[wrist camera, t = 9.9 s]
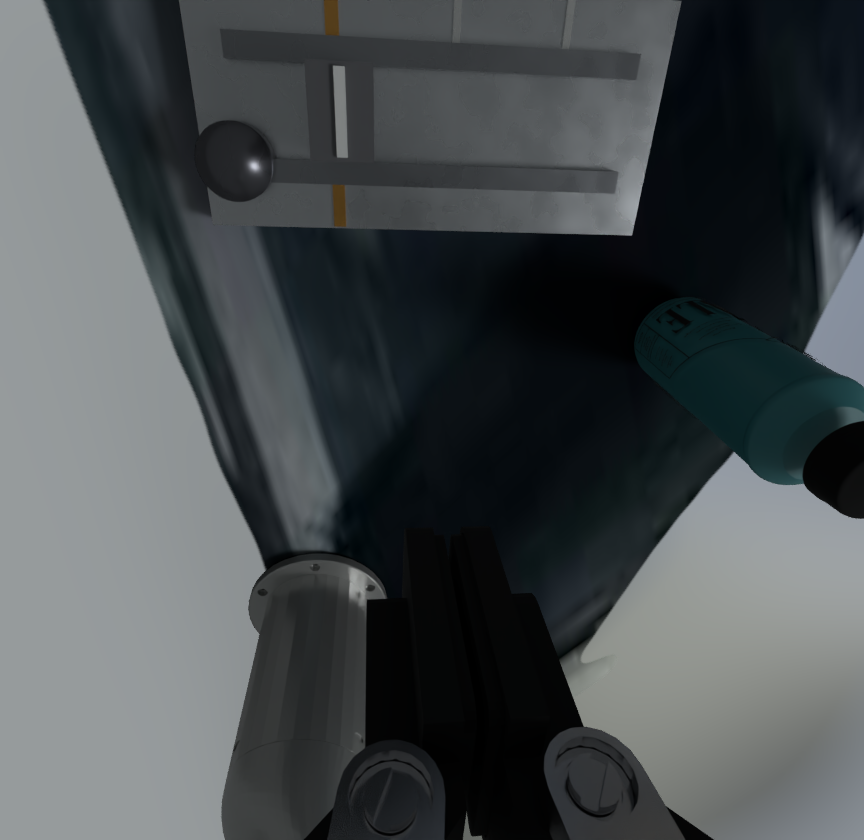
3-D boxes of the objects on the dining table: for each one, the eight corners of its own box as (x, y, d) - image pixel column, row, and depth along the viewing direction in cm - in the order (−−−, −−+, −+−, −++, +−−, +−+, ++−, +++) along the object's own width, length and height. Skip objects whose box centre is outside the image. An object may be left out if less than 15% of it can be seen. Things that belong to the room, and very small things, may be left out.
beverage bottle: (649, 385, 42) (841, 570, 25) (604, 328, 39) (784, 490, 22) (722, 330, 40) (984, 488, 23) (680, 266, 38) (941, 389, 20)
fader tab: (374, 156, 31) (374, 163, 25) (321, 154, 30) (310, 161, 25) (373, 73, 29) (373, 62, 23) (317, 70, 28) (303, 58, 23)
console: (619, 229, 36) (642, 239, 33) (221, 219, 34) (205, 229, 30) (663, 8, 30) (695, -5, 27) (186, -25, 28) (162, -44, 25)
